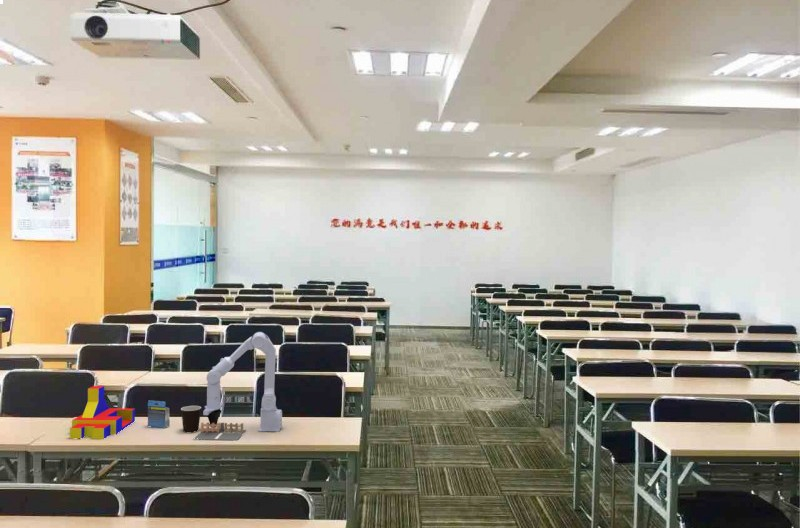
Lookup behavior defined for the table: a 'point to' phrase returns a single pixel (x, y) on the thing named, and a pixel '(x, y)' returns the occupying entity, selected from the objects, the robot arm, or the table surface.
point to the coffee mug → (190, 418)
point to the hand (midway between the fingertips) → (213, 427)
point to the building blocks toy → (100, 417)
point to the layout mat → (219, 435)
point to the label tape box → (158, 414)
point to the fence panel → (208, 427)
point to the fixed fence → (224, 430)
